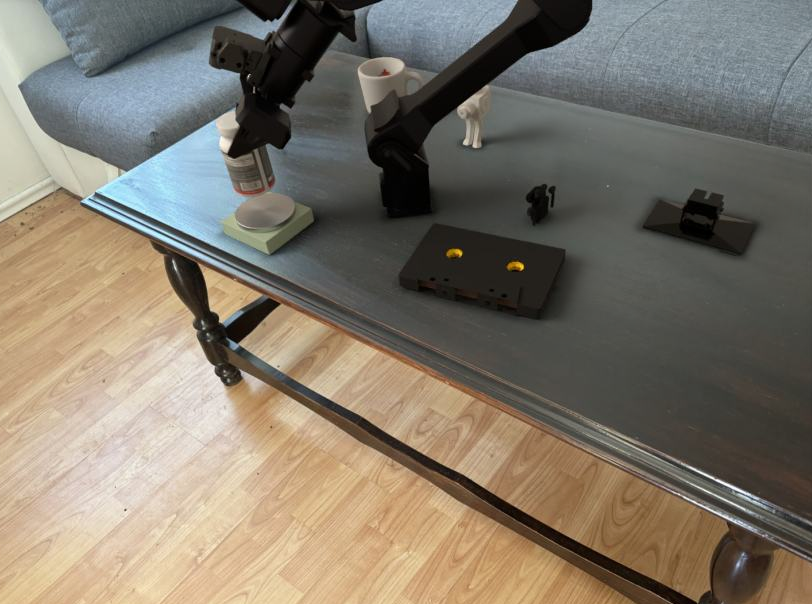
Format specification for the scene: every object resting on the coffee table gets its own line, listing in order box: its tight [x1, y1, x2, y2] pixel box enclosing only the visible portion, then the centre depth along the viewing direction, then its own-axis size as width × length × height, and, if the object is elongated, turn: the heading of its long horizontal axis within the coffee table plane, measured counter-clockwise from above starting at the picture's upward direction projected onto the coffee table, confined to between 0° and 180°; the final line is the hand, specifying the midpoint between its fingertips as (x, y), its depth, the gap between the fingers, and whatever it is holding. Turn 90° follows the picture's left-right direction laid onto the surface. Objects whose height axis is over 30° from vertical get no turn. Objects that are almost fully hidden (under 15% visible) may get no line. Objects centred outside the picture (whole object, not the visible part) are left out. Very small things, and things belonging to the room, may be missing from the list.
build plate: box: [641, 188, 756, 256], centre depth 84 cm, size 12×7×5 cm, turn 57°
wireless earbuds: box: [525, 183, 557, 227], centre depth 88 cm, size 7×2×5 cm, turn 142°
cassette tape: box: [398, 222, 567, 320], centre depth 82 cm, size 18×12×2 cm, turn 66°
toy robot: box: [456, 84, 492, 149], centre depth 101 cm, size 4×8×12 cm, turn 147°
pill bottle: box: [215, 110, 276, 198], centre depth 86 cm, size 6×6×10 cm
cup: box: [357, 56, 425, 115], centre depth 111 cm, size 11×8×8 cm
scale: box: [220, 190, 315, 256], centre depth 92 cm, size 9×9×3 cm
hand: (232, 144), depth 85 cm, fingers closed on pill bottle, 6 cm apart
